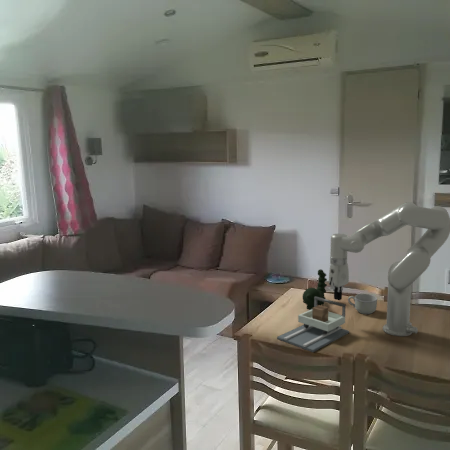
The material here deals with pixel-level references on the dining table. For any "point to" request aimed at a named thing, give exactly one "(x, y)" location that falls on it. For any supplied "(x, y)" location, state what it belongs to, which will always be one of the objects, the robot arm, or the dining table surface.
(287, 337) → the track
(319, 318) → the walnut block
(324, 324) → the shallow sage tray
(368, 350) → the dining table surface
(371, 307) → the teacup
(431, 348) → the dining table surface
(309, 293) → the toy figurine
